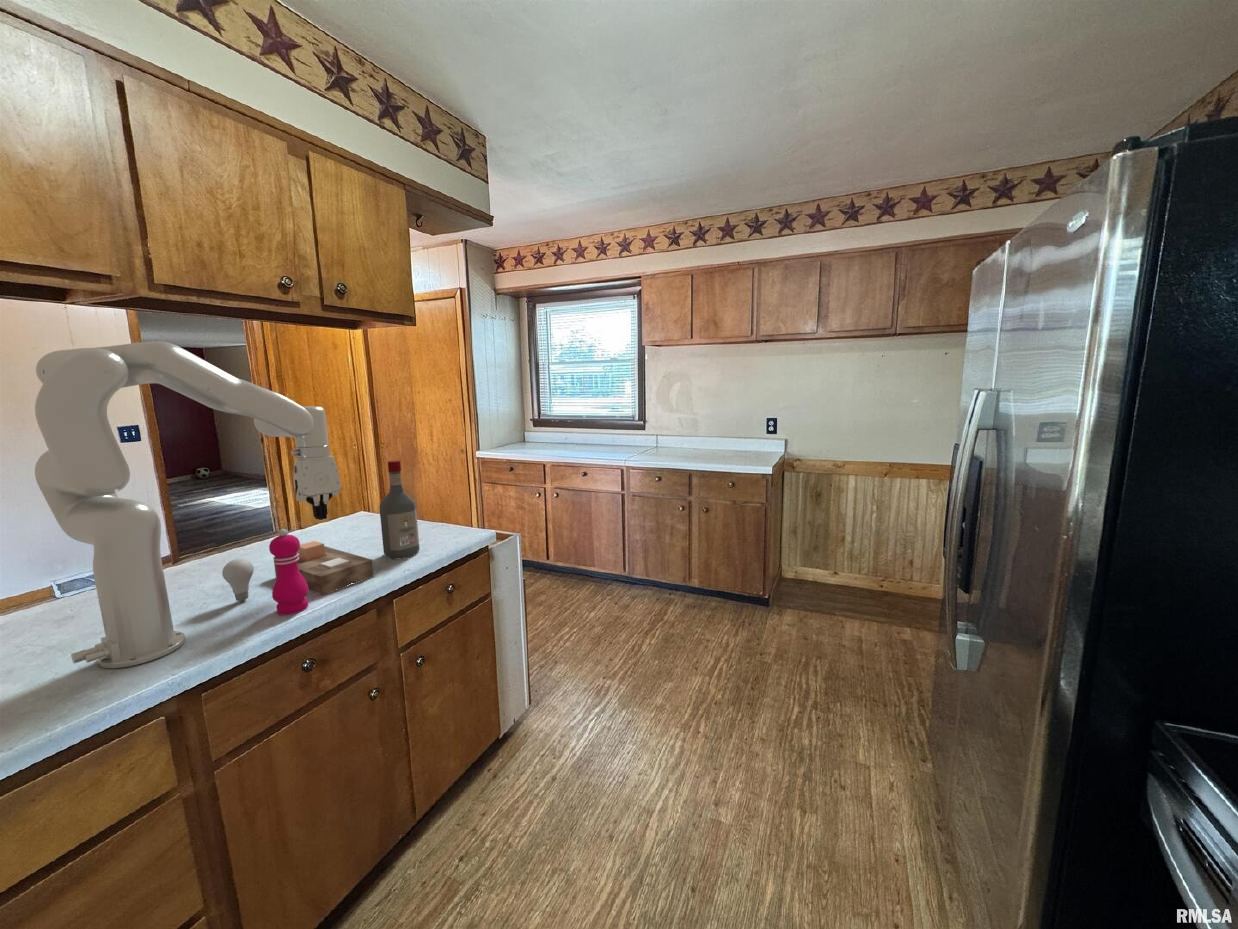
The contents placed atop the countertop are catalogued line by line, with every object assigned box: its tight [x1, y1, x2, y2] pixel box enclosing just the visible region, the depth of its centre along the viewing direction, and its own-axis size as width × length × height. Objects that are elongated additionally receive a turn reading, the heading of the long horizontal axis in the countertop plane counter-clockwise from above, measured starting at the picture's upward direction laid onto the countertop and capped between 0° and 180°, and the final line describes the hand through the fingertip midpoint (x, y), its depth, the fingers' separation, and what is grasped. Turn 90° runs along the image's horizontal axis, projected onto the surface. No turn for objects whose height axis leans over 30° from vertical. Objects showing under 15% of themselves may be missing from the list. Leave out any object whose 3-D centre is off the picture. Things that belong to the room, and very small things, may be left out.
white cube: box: [320, 558, 349, 569], centre depth 132 cm, size 5×5×5 cm
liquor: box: [378, 460, 421, 559], centre depth 152 cm, size 9×9×30 cm
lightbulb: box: [221, 558, 254, 603], centre depth 120 cm, size 6×6×11 cm
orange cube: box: [297, 540, 325, 561], centre depth 138 cm, size 5×5×5 cm
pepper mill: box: [268, 528, 310, 616], centre depth 114 cm, size 7×7×20 cm
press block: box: [273, 545, 375, 596], centre depth 135 cm, size 14×24×5 cm, turn 59°
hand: (321, 518), depth 132 cm, fingers closed
